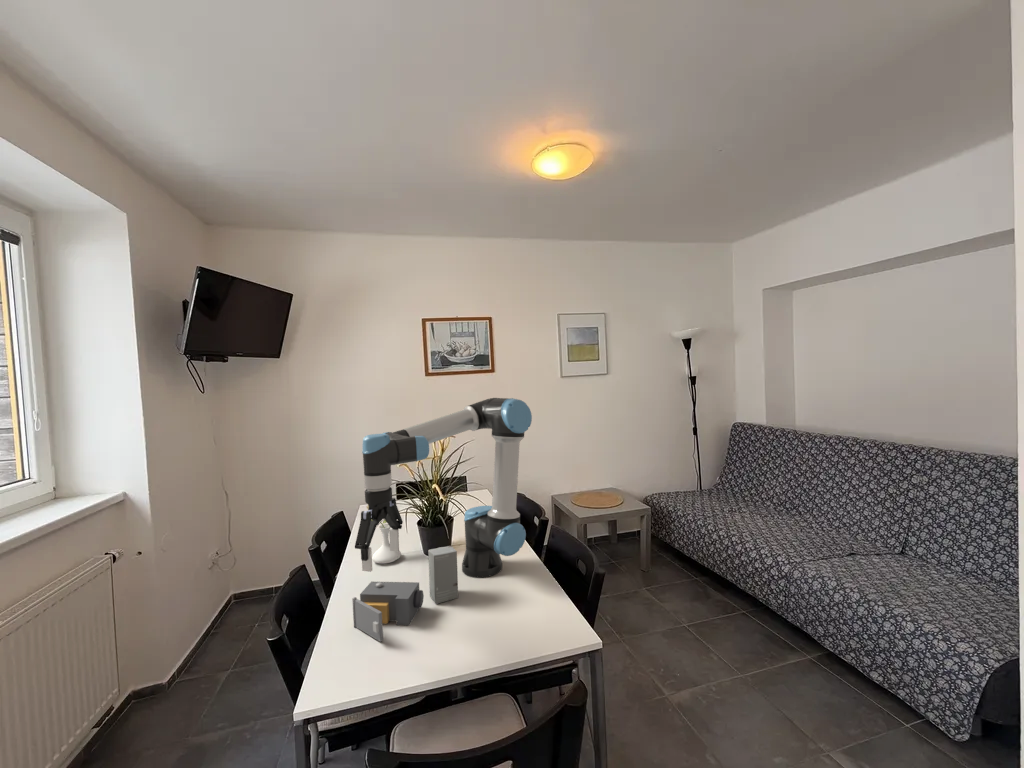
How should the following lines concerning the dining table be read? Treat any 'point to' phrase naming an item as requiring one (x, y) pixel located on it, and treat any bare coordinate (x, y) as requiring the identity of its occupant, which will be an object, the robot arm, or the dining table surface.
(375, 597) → the housing
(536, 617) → the dining table surface
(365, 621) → the door
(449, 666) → the dining table surface
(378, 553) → the flower in vase
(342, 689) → the dining table surface
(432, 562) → the skincare box
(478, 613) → the dining table surface
